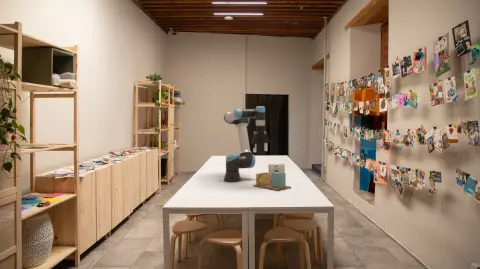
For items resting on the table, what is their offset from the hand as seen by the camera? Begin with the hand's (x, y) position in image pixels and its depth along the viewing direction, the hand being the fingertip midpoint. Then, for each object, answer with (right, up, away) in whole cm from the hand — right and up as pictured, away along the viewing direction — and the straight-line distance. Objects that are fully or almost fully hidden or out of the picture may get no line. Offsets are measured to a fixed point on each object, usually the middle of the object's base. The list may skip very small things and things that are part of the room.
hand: (260, 151), depth 292 cm
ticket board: (+9, -29, -2) cm, 30 cm away
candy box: (+15, -28, +18) cm, 36 cm away
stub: (+14, -28, -7) cm, 32 cm away
